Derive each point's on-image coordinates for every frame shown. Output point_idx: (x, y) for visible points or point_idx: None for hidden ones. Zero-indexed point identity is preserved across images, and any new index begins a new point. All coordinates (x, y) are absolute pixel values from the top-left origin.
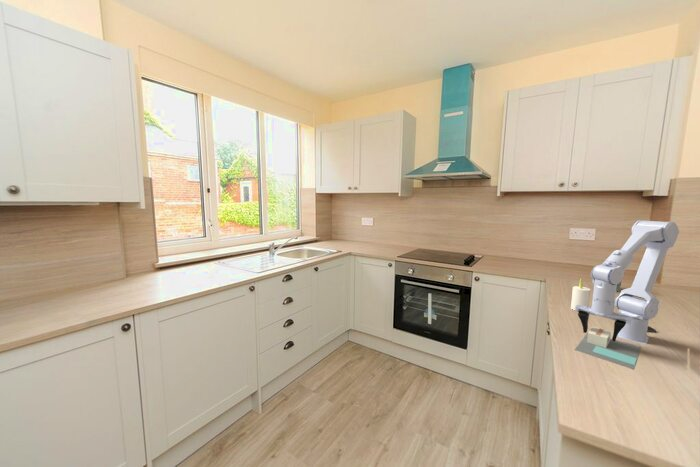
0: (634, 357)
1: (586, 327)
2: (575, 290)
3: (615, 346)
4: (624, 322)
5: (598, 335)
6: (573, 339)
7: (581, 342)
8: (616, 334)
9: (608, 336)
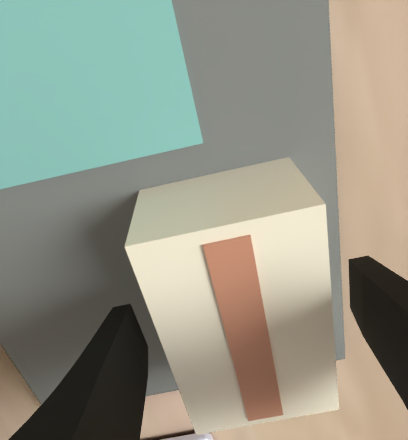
0: None
1: (380, 317)
2: None
3: (122, 290)
4: None
5: (216, 237)
6: (397, 129)
7: (321, 86)
8: (72, 370)
9: (152, 315)
